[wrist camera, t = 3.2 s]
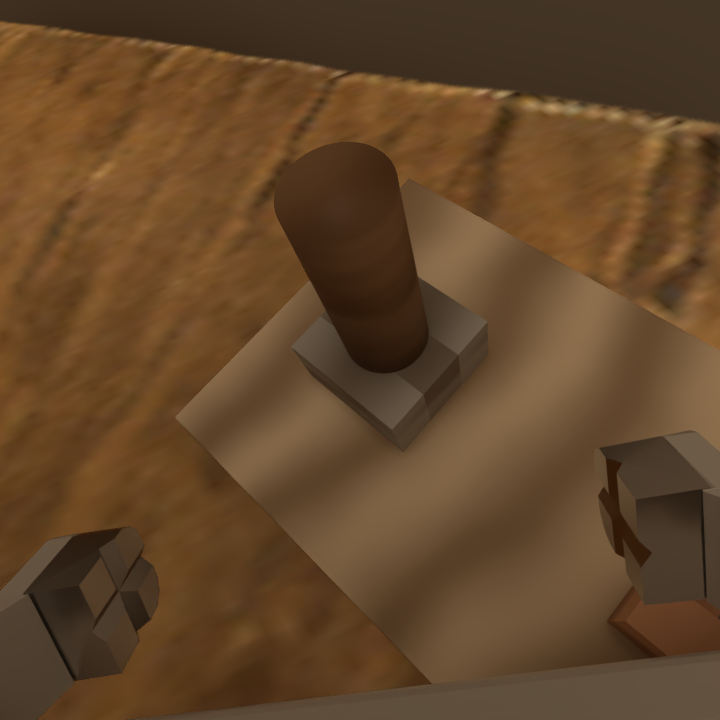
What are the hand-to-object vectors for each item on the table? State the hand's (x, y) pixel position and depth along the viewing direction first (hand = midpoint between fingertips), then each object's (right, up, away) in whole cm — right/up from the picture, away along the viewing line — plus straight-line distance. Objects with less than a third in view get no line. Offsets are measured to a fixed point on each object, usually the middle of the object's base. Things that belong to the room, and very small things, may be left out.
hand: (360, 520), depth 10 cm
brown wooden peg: (+2, +3, +17) cm, 17 cm away
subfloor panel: (+8, -3, +15) cm, 17 cm away
